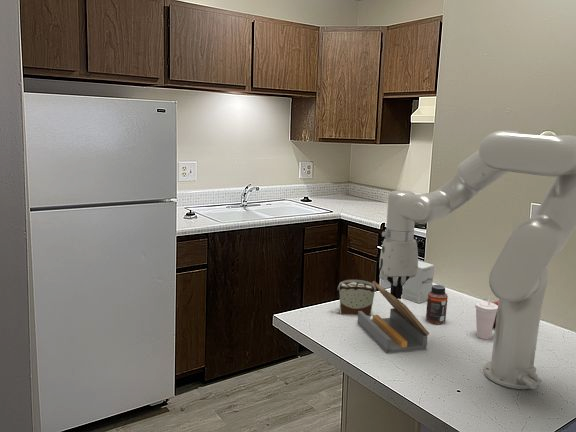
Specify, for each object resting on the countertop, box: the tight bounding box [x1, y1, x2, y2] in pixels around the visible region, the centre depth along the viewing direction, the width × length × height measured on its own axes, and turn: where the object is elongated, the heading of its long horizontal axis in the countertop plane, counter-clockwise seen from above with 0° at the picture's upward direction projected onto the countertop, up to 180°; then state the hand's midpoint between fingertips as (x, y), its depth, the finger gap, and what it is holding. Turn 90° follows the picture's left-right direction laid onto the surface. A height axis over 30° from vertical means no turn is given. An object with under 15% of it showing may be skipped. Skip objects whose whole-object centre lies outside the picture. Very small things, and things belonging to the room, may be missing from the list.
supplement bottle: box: [425, 284, 449, 325], centre depth 160 cm, size 6×6×11 cm
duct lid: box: [371, 280, 430, 337], centre depth 148 cm, size 20×12×1 cm
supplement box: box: [401, 260, 435, 304], centre depth 178 cm, size 7×7×13 cm
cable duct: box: [357, 307, 428, 354], centre depth 149 cm, size 20×12×4 cm, turn 15°
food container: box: [337, 279, 377, 317], centre depth 165 cm, size 12×6×10 cm, turn 84°
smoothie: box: [474, 290, 498, 340], centre depth 149 cm, size 6×6×14 cm
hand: (396, 297), depth 147 cm, fingers closed
